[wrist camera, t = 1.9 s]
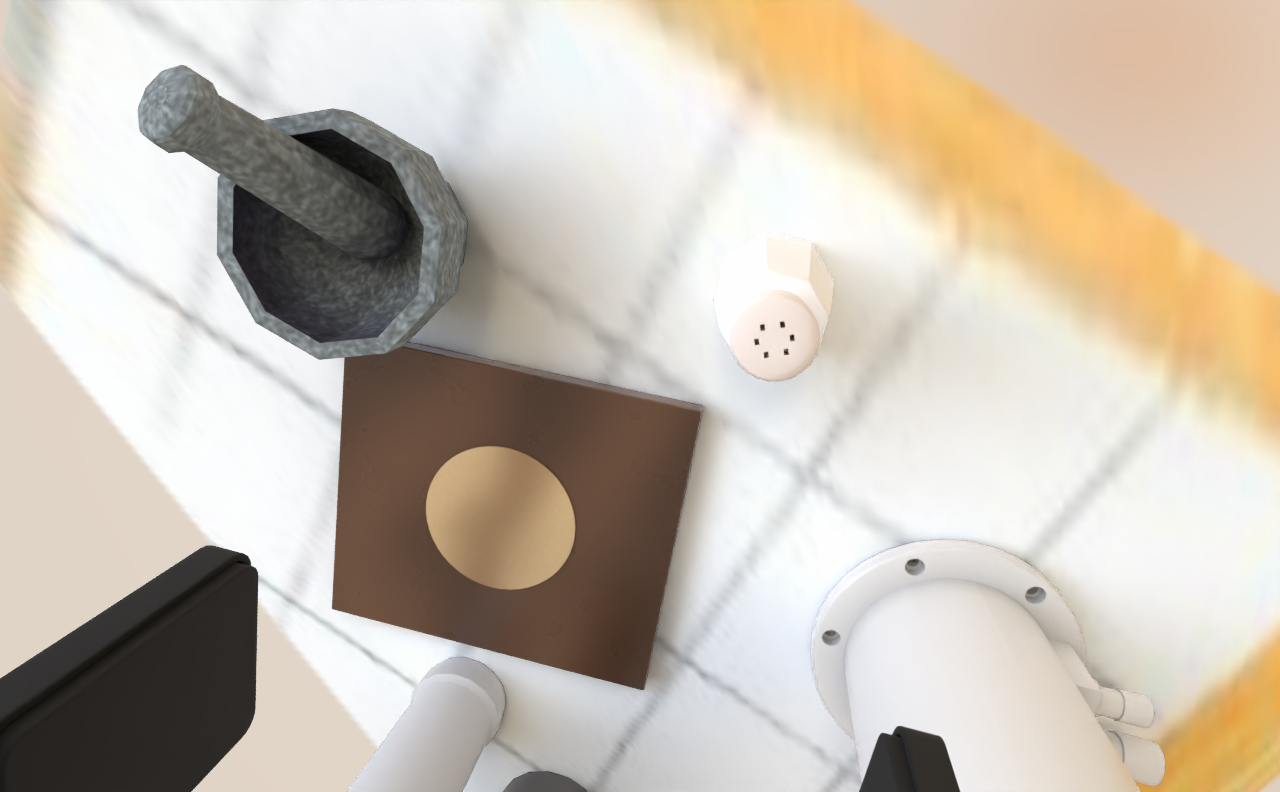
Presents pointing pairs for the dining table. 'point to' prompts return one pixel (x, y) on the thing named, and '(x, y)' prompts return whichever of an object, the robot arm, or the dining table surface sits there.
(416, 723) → the bottle
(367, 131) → the mortar and pestle
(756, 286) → the pepper shaker
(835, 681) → the robot arm
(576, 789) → the candle holder
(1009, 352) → the dining table surface
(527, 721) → the dining table surface
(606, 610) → the board
